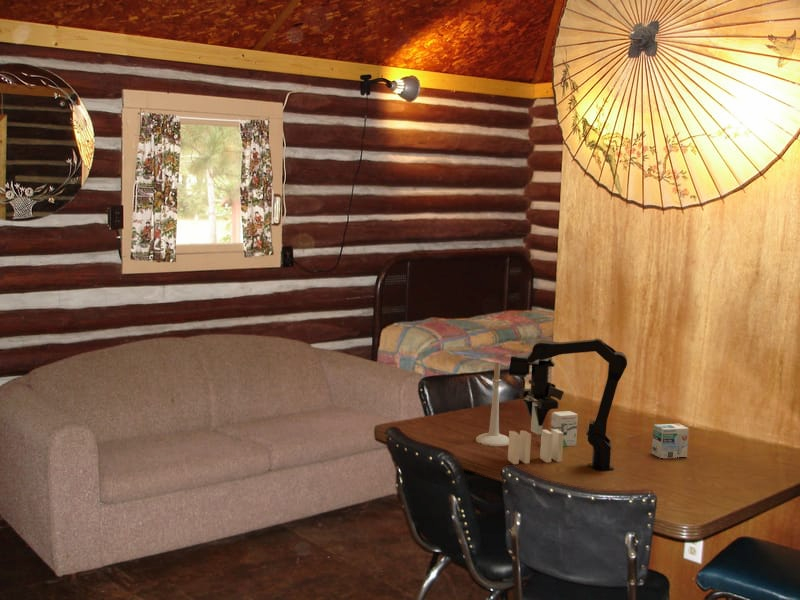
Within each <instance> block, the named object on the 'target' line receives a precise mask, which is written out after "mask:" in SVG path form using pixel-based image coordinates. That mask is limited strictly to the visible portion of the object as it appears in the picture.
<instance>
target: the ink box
mask: <svg viewBox="0 0 800 600" xmlns="http://www.w3.org/2000/svg"><path fill="white" fill-rule="evenodd" d="M578 420H579V414H578V413H575V412H574V411H570V410H567V411H566V410H565V411H564V410H563V411H553V412H552V413H551V423H550V432H551V433H552V429H558V430H559V431H561V432H563V433H564V435H563V447H571V446H573V447H574V446H576V445H577V436H578V435H577V433H578Z"/></svg>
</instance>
